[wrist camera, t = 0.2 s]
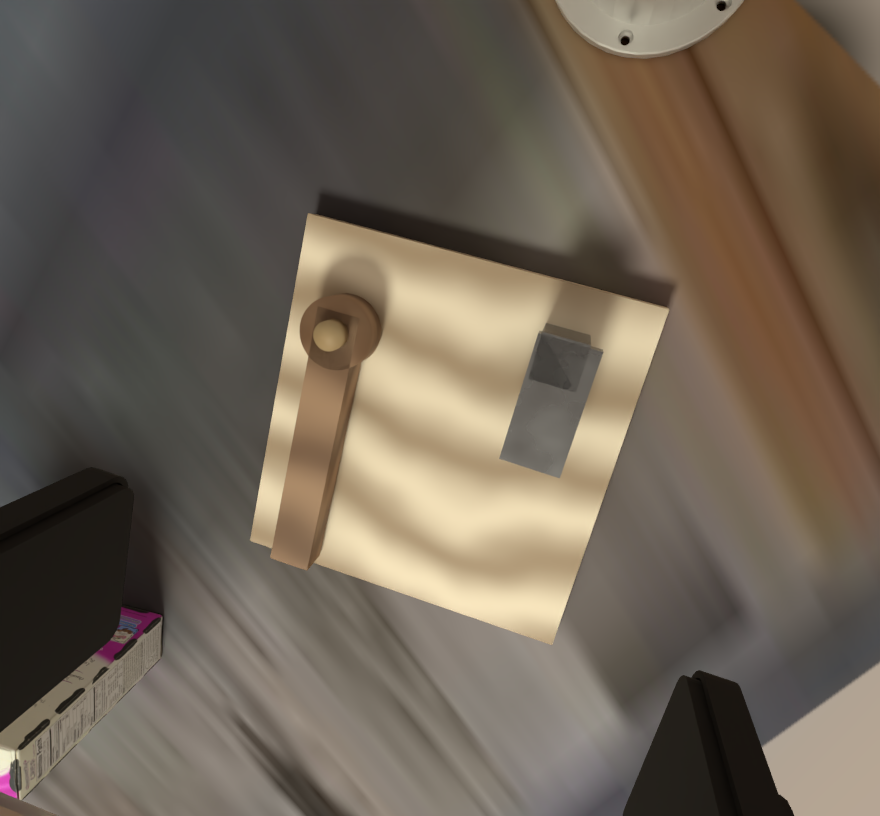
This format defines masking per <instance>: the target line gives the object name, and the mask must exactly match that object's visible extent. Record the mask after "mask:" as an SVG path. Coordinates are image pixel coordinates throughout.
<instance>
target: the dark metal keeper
mask: <svg viewBox="0 0 880 816" xmlns="http://www.w3.org/2000/svg"><path fill="white" fill-rule="evenodd" d="M602 355H603V349H599V348H596V347H593V346H591V336H590V335H588V334H585V333H581V332H577V331H574V330H570V329H566V328H563V327H559V326H556V325H552V324H548V323H546V324H545V327H544V329H543V331H539V333H538V336H537V339H536V342H535V345H534V348H533V352H532V355H531V358H530V361H529V364H528V368H527V371H526V374H525V377H524V380H523V384H522V387H521V390H520V393H519V396H518V400H517V403H516V406H515V409H514V412H513V416H512V419H511V422H510V425H509V428H508V432H507V435H506V438H505V441H504V445H503V448H502V451H501V454H500V457H499V459H502V460H505V461H508V462H511V463H514V464H517V465H520V466H523V467H526V468H529V469H532V470H535V471H538V472H541V473H544V474H547V475H551V476H554V477H557V478H560V476H561V474H562V471H563V468H564V465H565V462H566V459H567V456H568V453H569V450H570V447H571V445H572V442H573V439H574V436H575V433H576V430H577V427H578V424H579V421H580V419H581V416H582V413H583V410H584V407H585V404H586V401H587V398H588V395H589V393H590V390H591V387H592V384H593V381H594V378H595V375H596V372H597V369H598V367H599V364H600V361H601V358H602Z"/></svg>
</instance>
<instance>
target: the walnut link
mask: <svg viewBox="0 0 880 816" xmlns="http://www.w3.org/2000/svg"><path fill="white" fill-rule="evenodd" d="M380 337H381V324H380V320H379V317H378V315H377V313H376V311H375V310H374V308H373V307H372V306H371V304H370V303H368V302H367V301H366V300H365V299H363V298H361V297H359V296H357V295H354V294H348V293H342V294H337V295H332V296H327V297H323V298H320V299H318V300H316V301H314V302H313V303H312V304H311V305H310V306H309V307H308V308H307V309H306V310H305V312H304V314H303V316H302V318H301V322H300V339H301V343H302V346H303V348H304V350H305V352H306V353H307V355H308V361H307V366H306V371H305V377H304V382H303V387H302V392H301V398H300V403H299V408H298V414H297V419H296V424H295V430H294V435H293V440H292V445H291V451H290V456H289V461H288V467H287V472H286V477H285V483H284V488H283V493H282V498H281V504H280V509H279V514H278V520H277V525H276V530H275V535H274V541H273V546H272V551H271V557H270V558H272V559H275V560H278V561H281V562H284V563H287V564H289V565H292V566H295V567H298V568H301V569H304V570H308V569H309V568H310V566H311V565H312V564H313V563H314V562H315V560H316V559H317V558H318V557H319V556H320V552H321V547H322V543H323V538H324V533H325V529H326V524H327V519H328V515H329V510H330V505H331V501H332V496H333V491H334V487H335V482H336V477H337V473H338V468H339V463H340V459H341V454H342V449H343V445H344V440H345V435H346V431H347V426H348V421H349V417H350V412H351V407H352V403H353V398H354V393H355V389H356V384H357V379H358V374H359V370H360V365H361V362H362V361H364V360H366V359H367V358H369V357H370V356H371V355H372V354H373V353H374V351H375V350H376V348H377V347H378V344H379V341H380Z"/></svg>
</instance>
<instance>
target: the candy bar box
mask: <svg viewBox="0 0 880 816" xmlns="http://www.w3.org/2000/svg"><path fill="white" fill-rule="evenodd" d="M162 618H163V617H162V615H160V614H156V613H152V612H149V611H145V610H141V609H137V608H133V607H129V606H125V605H122V607H121V616H120V622H119V626H118V628H117V631H116V632H115V634H114V636H113V637H112V638H111V640H110V641H109V642H108V643H107V644H106V645H105V646H103V647H102V648H101V649H100V650H99V651H97V652H96V653H95V654H94V655H93V656H91V657H90V658H89V659H88V660H87V661H85V662H84V663H83V664H82V665H81V666H79V667H78V668H77V669H76V670H75V671H73V672H72V673H71V674H70V675H69V676H68V677H66V678H65V679H64V680H63V681H62V682H60V683H59V684H58V685H57V686H56V687H54V688H53V689H52V690H51V691H50V692H48V693H47V694H46V695H45V696H44V697H42V698H41V699H40V700H39V701H38V702H36V703H35V704H34V705H33V706H32V707H30V708H29V709H28V710H27V711H26V712H24V713H23V714H22V715H21V716H20V717H19V718H17V719H16V720H15V721H14V722H13V723H11V724H10V725H9V726H8V727H7V728H5V729H4V730H3V731H2V732H1V733H0V792H2V793H4V794H7V795H9V796H12V797H14V798H17V799H19V800H21V801H22V800H23V799H24V798H25V797H26V796H27V795H28V794H29V793H30V792H31V791H32V790H33V789H34V788H35V787H36V786H37V785H38V784H39V783H40V782H41V781H42V780H43V779H44V778H45V777H46V776H47V775H48V774H49V772H50V771H51V770H52V769H53V768H54V767H55V766H56V765H57V764H58V763H59V762H60V761H61V760H62V759H63V758H64V757H65V756H66V755H67V754H68V753H69V752H70V751H71V750H72V749H73V748H74V747H75V746H76V745H77V744H78V743H79V742H80V741H81V740H82V739H83V738H84V737H85V736H86V735H87V734H88V733H89V731H90V730H91V729H92V728H93V727H94V726H95V725H96V724H97V723H98V722H99V721H100V720H101V719H102V718H103V717H104V716H105V715H106V714H107V713H108V712H109V711H110V710H111V709H112V708H113V707H114V706H115V705H116V704H117V703H118V702H119V701H120V700H121V699H122V698H123V697H124V696H125V695H126V694H127V693H128V692H129V691H130V690H131V689H132V688H133V687H134V686H135V685H136V684H137V683H138V682H139V680H140V679H141V678H142V677H143V676H144V675H145V674H146V673H147V672H148V671H149V670H150V669H151V668H152V667H153V666H154V665H155V664H156V663H157V662H158V661H159V660H160V659H161V654H162Z"/></svg>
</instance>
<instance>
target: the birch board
mask: <svg viewBox="0 0 880 816" xmlns="http://www.w3.org/2000/svg"><path fill="white" fill-rule="evenodd" d="M342 293H348V294H354V295H357V296H359V297H361V298H363V299H365V300H366V301H367V302H368V303H370V304H371V306H372V307H373V308H374V310H375V311H376V313H377V315H378V317H379V320H380V324H381V337H380V341H379V344H378V347H377V348H376V350H375V351H374V353H373V354H372V355H371V356H370V357H369V358H367V359H366V360H364V361H362V362H361V365H360V370H359V374H358V379H357V384H356V389H355V393H354V398H353V403H352V407H351V412H350V417H349V421H348V426H347V431H346V435H345V440H344V445H343V449H342V454H341V459H340V463H339V468H338V473H337V477H336V482H335V487H334V491H333V496H332V501H331V505H330V510H329V515H328V519H327V524H326V529H325V533H324V538H323V543H322V547H321V552H320V556H319V557H318V558H317V559H316V560H315V562H314V563H316V564H319V565H322V566H325V567H328V568H331V569H333V570H336V571H339V572H342V573H345V574H348V575H351V576H354V577H357V578H359V579H362V580H365V581H368V582H371V583H374V584H377V585H380V586H383V587H386V588H388V589H391V590H394V591H397V592H400V593H403V594H406V595H409V596H412V597H415V598H417V599H420V600H423V601H426V602H429V603H432V604H435V605H438V606H441V607H443V608H446V609H449V610H452V611H455V612H458V613H461V614H464V615H467V616H470V617H472V618H475V619H478V620H481V621H484V622H487V623H490V624H493V625H496V626H499V627H501V628H504V629H507V630H510V631H513V632H516V633H519V634H522V635H525V636H527V637H530V638H533V639H536V640H539V641H542V642H545V643H548V644H551V645H552V643H553V641H554V638H555V635H556V632H557V629H558V626H559V623H560V621H561V618H562V615H563V612H564V609H565V606H566V603H567V601H568V598H569V595H570V592H571V589H572V586H573V583H574V581H575V578H576V575H577V572H578V569H579V566H580V563H581V561H582V558H583V555H584V552H585V549H586V546H587V543H588V541H589V538H590V535H591V532H592V529H593V526H594V523H595V521H596V518H597V515H598V512H599V509H600V506H601V503H602V501H603V498H604V495H605V492H606V489H607V486H608V483H609V481H610V478H611V475H612V472H613V469H614V466H615V463H616V461H617V458H618V455H619V452H620V449H621V446H622V443H623V440H624V438H625V435H626V432H627V429H628V426H629V423H630V420H631V418H632V415H633V412H634V409H635V406H636V403H637V400H638V398H639V395H640V392H641V389H642V386H643V383H644V380H645V378H646V375H647V372H648V369H649V366H650V363H651V360H652V358H653V355H654V352H655V349H656V346H657V343H658V340H659V338H660V335H661V332H662V329H663V326H664V323H665V320H666V318H667V315H668V312H669V309H668V308H667V307H664V306H660V305H656V304H653V303H649V302H645V301H641V300H638V299H634V298H630V297H626V296H623V295H619V294H615V293H611V292H607V291H604V290H600V289H596V288H592V287H589V286H585V285H581V284H577V283H574V282H570V281H566V280H562V279H559V278H555V277H551V276H547V275H544V274H540V273H536V272H532V271H528V270H525V269H521V268H517V267H513V266H510V265H506V264H502V263H498V262H495V261H491V260H487V259H483V258H480V257H476V256H472V255H468V254H464V253H461V252H457V251H453V250H449V249H446V248H442V247H438V246H434V245H431V244H427V243H423V242H419V241H416V240H412V239H408V238H404V237H400V236H397V235H393V234H389V233H385V232H382V231H378V230H374V229H370V228H367V227H363V226H359V225H355V224H352V223H348V222H344V221H340V220H337V219H333V218H329V217H325V216H321V215H318V214H310V213H308V216H307V222H306V228H305V233H304V239H303V245H302V250H301V256H300V261H299V267H298V273H297V278H296V284H295V290H294V295H293V301H292V307H291V312H290V318H289V324H288V329H287V335H286V341H285V346H284V352H283V358H282V363H281V369H280V375H279V380H278V386H277V392H276V397H275V403H274V409H273V414H272V420H271V425H270V431H269V437H268V442H267V448H266V454H265V459H264V465H263V471H262V476H261V482H260V488H259V493H258V499H257V505H256V510H255V516H254V522H253V527H252V533H251V539H250V541H252V542H255V543H258V544H261V545H264V546H267V547H270V548H272V546H273V541H274V535H275V530H276V525H277V520H278V514H279V509H280V504H281V498H282V493H283V488H284V483H285V477H286V472H287V467H288V461H289V456H290V451H291V445H292V440H293V435H294V430H295V424H296V419H297V414H298V408H299V403H300V398H301V392H302V387H303V382H304V377H305V371H306V366H307V361H308V355H307V353H306V352H305V350H304V348H303V346H302V343H301V339H300V322H301V318H302V316H303V314H304V312H305V310H306V309H307V308H308V307H309V306H310V305H311V304H312V303H313V302H314V301H316V300H318V299H320V298H323V297H327V296H332V295H337V294H342ZM546 323H548V324H552V325H556V326H559V327H563V328H566V329H570V330H574V331H577V332H581V333H585V334H588V335H590V336H591V346H593V347H596V348H599V349H603V355H602V358H601V361H600V364H599V367H598V369H597V372H596V375H595V378H594V381H593V384H592V387H591V390H590V393H589V395H588V398H587V401H586V404H585V407H584V410H583V413H582V416H581V419H580V421H579V424H578V427H577V430H576V433H575V436H574V439H573V442H572V445H571V447H570V450H569V453H568V456H567V459H566V462H565V465H564V468H563V471H562V474H561V476H560V478H557V477H554V476H551V475H547V474H544V473H541V472H538V471H535V470H532V469H529V468H526V467H523V466H520V465H517V464H514V463H511V462H508V461H505V460H502V459H499V457H500V454H501V451H502V448H503V445H504V441H505V438H506V435H507V432H508V428H509V425H510V422H511V419H512V416H513V412H514V409H515V406H516V403H517V400H518V396H519V393H520V390H521V387H522V384H523V380H524V377H525V374H526V371H527V368H528V364H529V361H530V358H531V355H532V352H533V348H534V345H535V342H536V339H537V336H538V333H539V331H543V329H544V327H545V324H546Z"/></svg>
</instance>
